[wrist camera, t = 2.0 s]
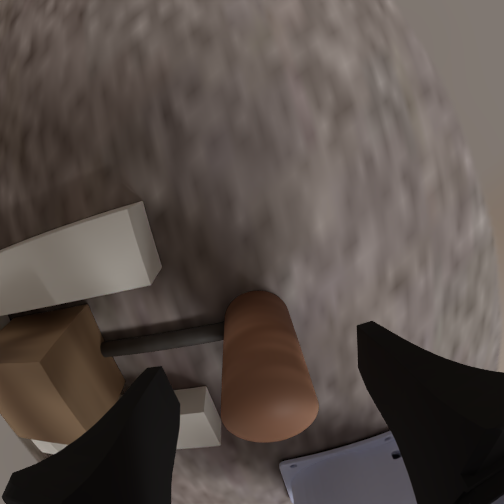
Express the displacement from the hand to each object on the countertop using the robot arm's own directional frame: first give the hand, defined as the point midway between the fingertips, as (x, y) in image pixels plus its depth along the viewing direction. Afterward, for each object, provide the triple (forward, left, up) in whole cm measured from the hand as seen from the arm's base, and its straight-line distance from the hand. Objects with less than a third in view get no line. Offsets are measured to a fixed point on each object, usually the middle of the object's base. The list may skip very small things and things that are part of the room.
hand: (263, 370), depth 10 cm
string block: (+6, 0, -4) cm, 7 cm away
